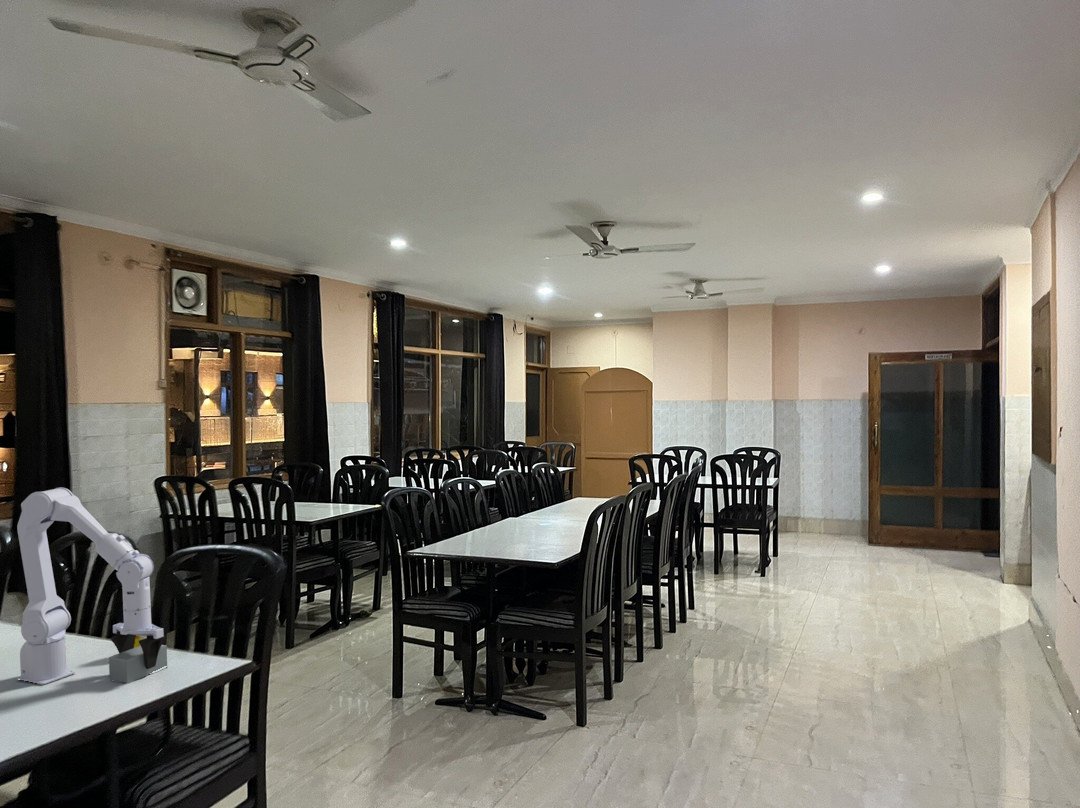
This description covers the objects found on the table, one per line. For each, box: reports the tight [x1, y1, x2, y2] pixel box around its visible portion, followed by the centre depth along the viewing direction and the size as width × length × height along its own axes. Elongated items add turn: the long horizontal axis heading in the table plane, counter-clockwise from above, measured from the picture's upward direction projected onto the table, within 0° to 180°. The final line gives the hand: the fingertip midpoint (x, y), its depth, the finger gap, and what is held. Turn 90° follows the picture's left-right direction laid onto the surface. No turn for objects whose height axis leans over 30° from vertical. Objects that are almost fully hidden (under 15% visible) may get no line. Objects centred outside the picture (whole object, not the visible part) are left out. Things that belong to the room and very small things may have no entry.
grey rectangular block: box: [108, 644, 168, 684], centre depth 181 cm, size 6×11×5 cm, turn 156°
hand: (139, 665), depth 181 cm, fingers open, 7 cm apart
